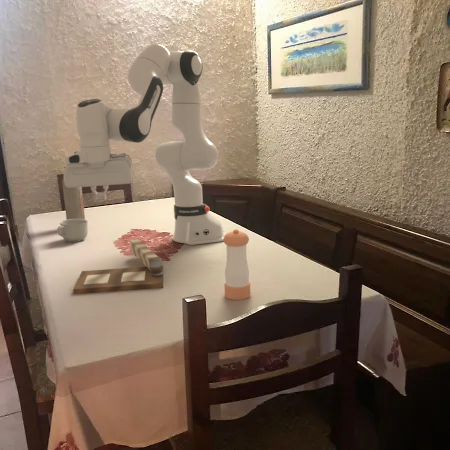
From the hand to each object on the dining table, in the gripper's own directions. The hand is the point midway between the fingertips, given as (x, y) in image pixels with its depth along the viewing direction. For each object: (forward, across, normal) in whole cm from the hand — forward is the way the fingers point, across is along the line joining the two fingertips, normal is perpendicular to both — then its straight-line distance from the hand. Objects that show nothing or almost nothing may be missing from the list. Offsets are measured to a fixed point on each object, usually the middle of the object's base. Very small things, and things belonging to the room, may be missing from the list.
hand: (101, 199), depth 149 cm
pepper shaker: (+25, -38, +25) cm, 52 cm away
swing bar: (+23, -11, -5) cm, 26 cm away
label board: (+25, -4, +7) cm, 26 cm away
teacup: (+26, +20, -45) cm, 56 cm away
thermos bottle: (+27, +22, -67) cm, 75 cm away
